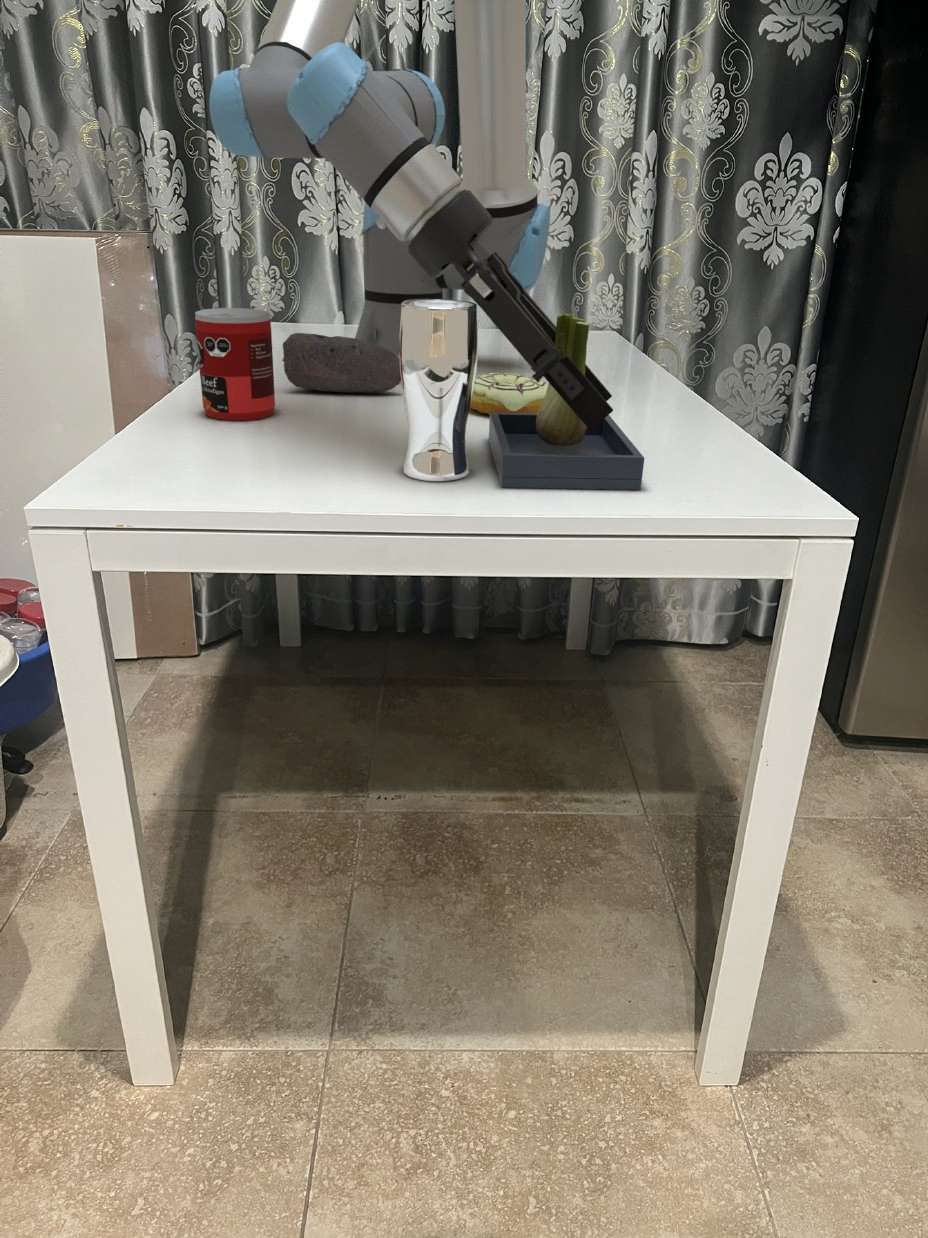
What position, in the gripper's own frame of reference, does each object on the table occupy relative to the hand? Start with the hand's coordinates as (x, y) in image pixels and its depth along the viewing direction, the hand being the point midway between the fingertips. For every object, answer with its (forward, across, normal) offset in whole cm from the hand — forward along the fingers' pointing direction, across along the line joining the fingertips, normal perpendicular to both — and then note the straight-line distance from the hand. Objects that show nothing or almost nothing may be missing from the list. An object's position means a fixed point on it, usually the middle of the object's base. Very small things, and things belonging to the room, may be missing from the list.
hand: (600, 411), depth 86 cm
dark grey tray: (+1, 0, -6) cm, 6 cm away
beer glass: (-7, +6, -14) cm, 17 cm away
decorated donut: (-4, -22, -11) cm, 25 cm away
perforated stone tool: (-18, -27, -26) cm, 42 cm away
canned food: (-25, -12, -32) cm, 42 cm away
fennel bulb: (0, 0, -5) cm, 5 cm away
